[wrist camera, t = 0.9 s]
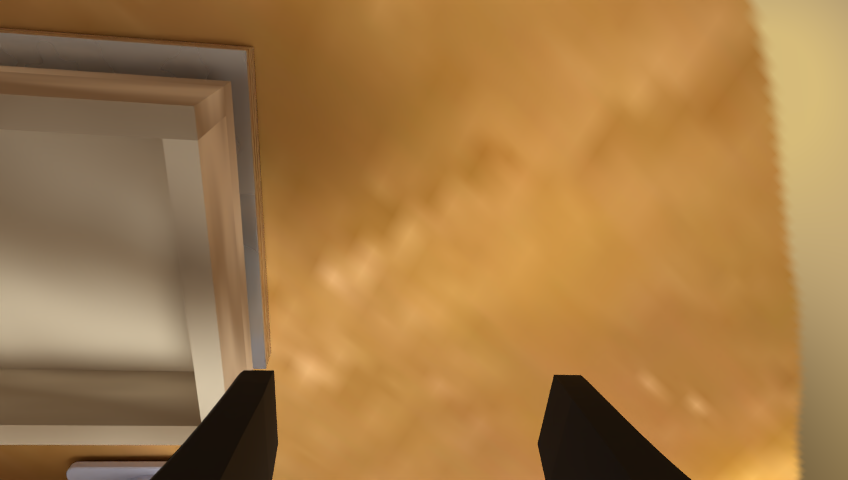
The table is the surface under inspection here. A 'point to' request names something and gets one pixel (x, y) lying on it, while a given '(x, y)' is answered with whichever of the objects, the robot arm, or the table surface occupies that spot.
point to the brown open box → (117, 257)
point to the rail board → (178, 63)
